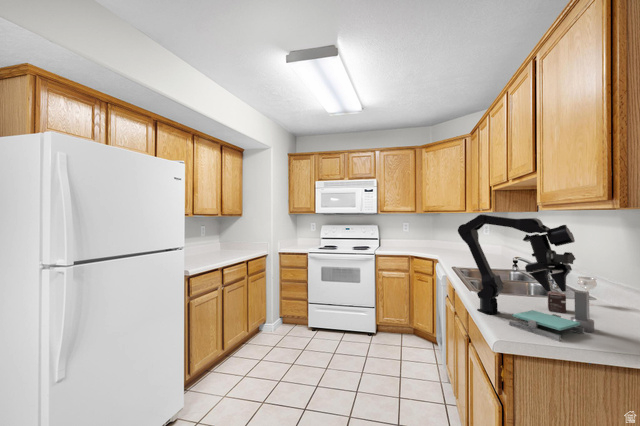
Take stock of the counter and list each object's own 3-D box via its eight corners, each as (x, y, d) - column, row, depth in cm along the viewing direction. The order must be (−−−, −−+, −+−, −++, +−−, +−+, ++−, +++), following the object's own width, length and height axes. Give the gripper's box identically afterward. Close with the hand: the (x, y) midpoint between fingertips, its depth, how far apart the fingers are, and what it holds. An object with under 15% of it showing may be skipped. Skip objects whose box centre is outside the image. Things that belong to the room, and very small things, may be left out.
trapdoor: (512, 319, 118) (512, 314, 118) (532, 315, 123) (532, 310, 123) (559, 334, 104) (559, 328, 104) (580, 328, 108) (580, 322, 108)
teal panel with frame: (509, 324, 118) (509, 313, 118) (533, 319, 124) (533, 308, 124) (559, 341, 102) (558, 328, 102) (584, 333, 109) (584, 322, 109)
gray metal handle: (568, 328, 114) (567, 291, 114) (573, 324, 118) (573, 288, 118) (591, 333, 108) (591, 295, 109) (596, 329, 112) (596, 292, 113)
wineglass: (583, 305, 141) (582, 279, 141) (574, 301, 148) (574, 276, 148) (600, 306, 140) (600, 279, 140) (591, 302, 146) (591, 277, 146)
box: (548, 311, 134) (548, 294, 134) (547, 307, 139) (547, 291, 139) (566, 313, 131) (566, 296, 131) (564, 309, 136) (564, 292, 136)
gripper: (548, 241, 108) (565, 287, 102) (579, 245, 116) (596, 287, 110) (518, 250, 117) (532, 292, 111) (548, 253, 125) (562, 292, 119)
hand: (556, 291), depth 112 cm, fingers open, 9 cm apart
